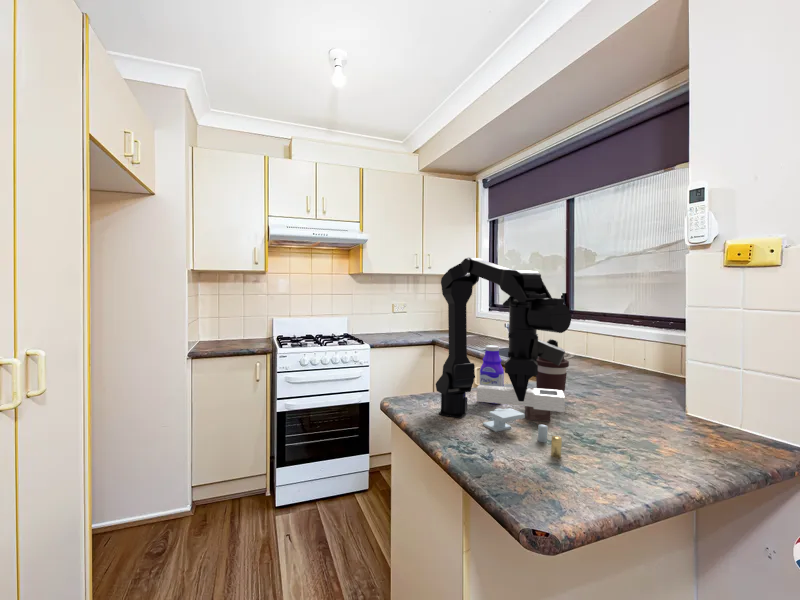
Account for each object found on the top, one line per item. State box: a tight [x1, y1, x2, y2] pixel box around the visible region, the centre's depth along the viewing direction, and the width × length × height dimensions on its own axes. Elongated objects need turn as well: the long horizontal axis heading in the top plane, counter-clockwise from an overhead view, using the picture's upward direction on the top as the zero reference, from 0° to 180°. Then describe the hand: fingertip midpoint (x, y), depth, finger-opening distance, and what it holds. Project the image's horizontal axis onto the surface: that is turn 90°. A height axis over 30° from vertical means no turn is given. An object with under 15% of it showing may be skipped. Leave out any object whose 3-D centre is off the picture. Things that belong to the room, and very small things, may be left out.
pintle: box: [550, 435, 563, 459], centre depth 82 cm, size 2×2×4 cm
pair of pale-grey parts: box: [482, 407, 548, 443], centre depth 95 cm, size 16×10×5 cm, turn 68°
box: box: [524, 387, 552, 422], centre depth 106 cm, size 6×6×7 cm
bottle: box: [479, 344, 505, 405], centre depth 119 cm, size 7×6×17 cm
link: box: [476, 384, 566, 413], centre depth 84 cm, size 18×6×3 cm, turn 71°
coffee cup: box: [535, 355, 570, 395], centre depth 119 cm, size 10×10×15 cm
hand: (521, 399), depth 84 cm, fingers closed on link, 3 cm apart
